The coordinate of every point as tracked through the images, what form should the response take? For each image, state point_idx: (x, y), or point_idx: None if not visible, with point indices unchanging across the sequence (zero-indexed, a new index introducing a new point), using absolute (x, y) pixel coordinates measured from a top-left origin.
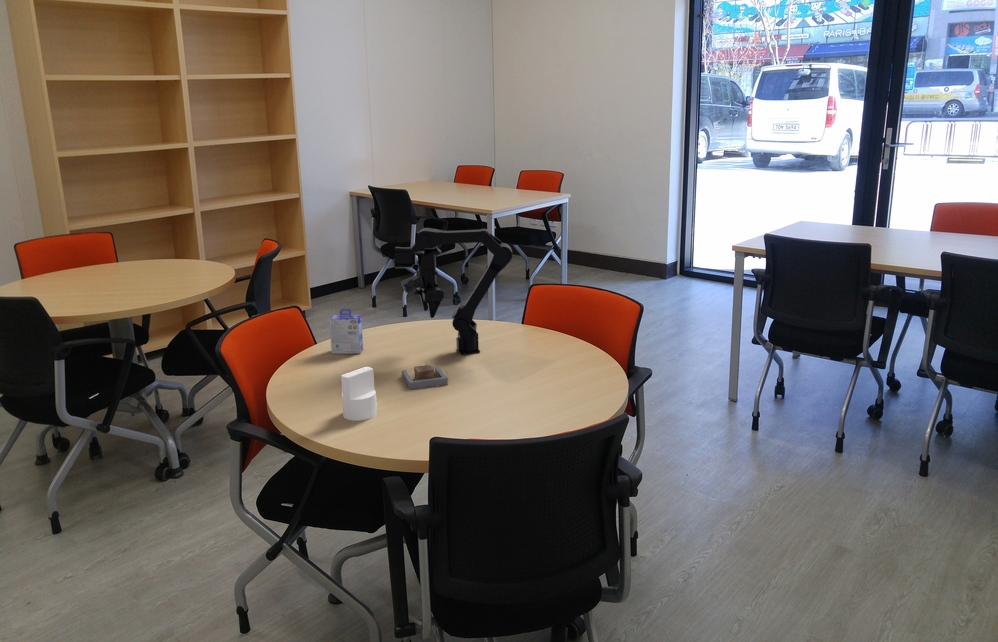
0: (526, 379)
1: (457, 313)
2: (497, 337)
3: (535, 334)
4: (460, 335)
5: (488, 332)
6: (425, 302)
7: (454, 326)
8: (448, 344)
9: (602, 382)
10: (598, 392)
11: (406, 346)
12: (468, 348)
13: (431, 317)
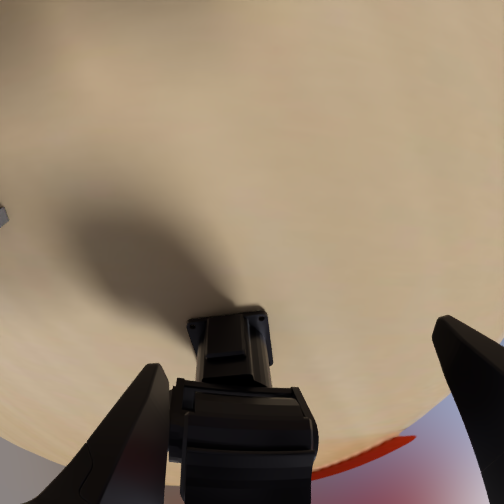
0: (20, 394)
1: (185, 482)
2: (342, 404)
3: (323, 450)
4: (176, 383)
5: (395, 386)
6: (476, 388)
7: (194, 404)
8: (341, 284)
9: (46, 451)
10: (11, 434)
11: (381, 97)
12: (197, 355)
13: (148, 370)
